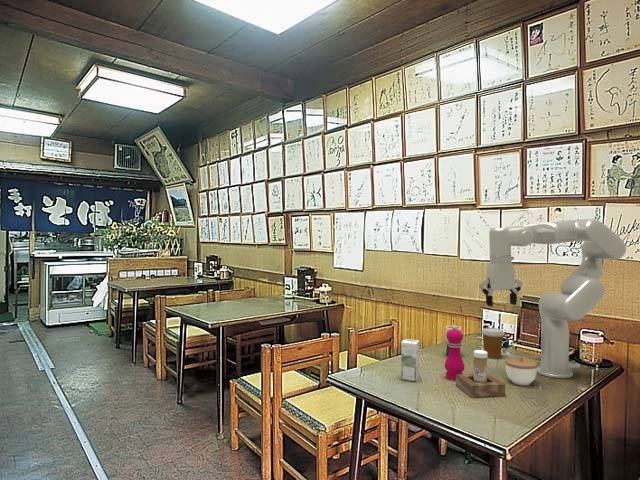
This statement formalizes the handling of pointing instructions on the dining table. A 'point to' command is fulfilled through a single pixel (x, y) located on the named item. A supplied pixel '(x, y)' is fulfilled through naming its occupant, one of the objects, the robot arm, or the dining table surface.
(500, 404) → the dining table surface
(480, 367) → the sprinkles bottle
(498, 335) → the disposable coffee cup
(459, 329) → the character mug
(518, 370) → the lidded jar
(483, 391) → the socket block
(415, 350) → the syrup box
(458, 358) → the pepper mill
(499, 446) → the dining table surface
